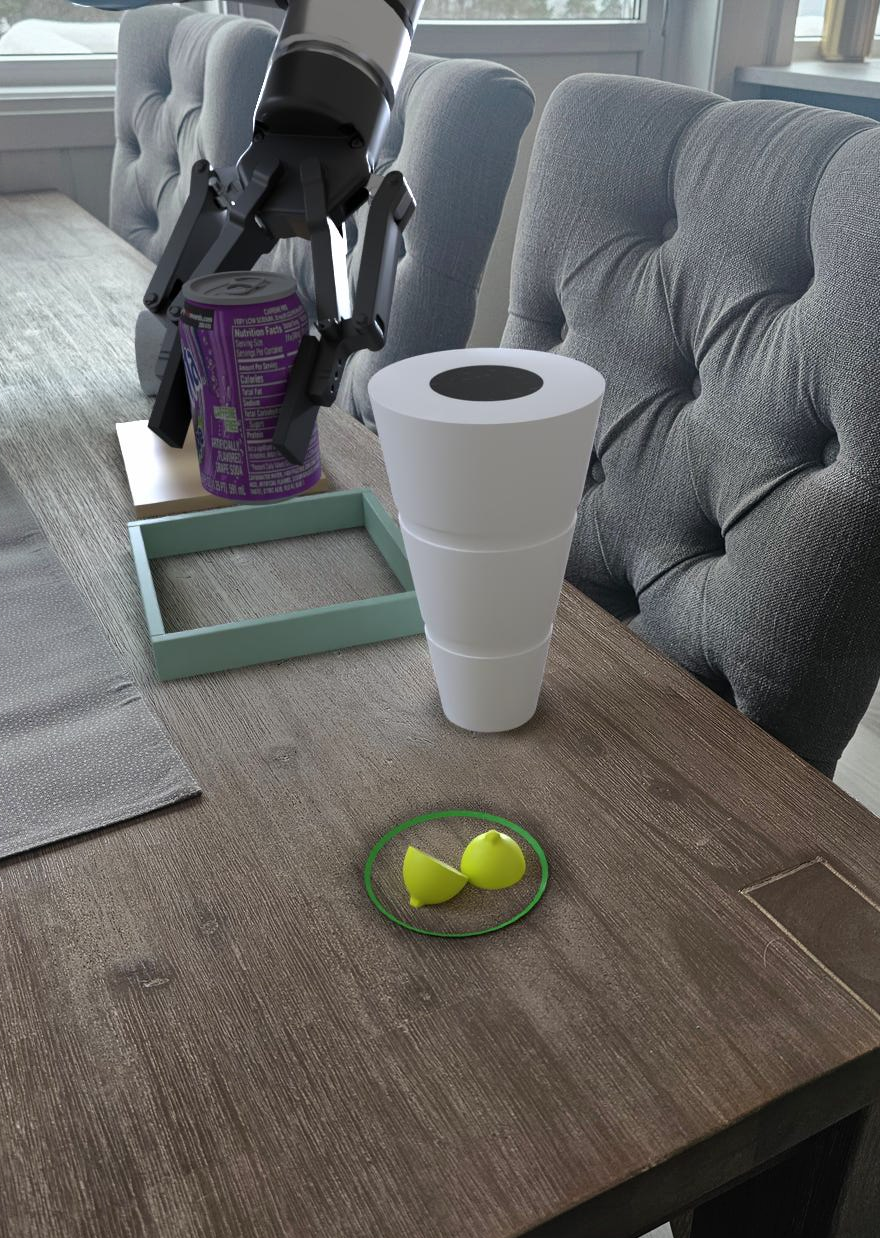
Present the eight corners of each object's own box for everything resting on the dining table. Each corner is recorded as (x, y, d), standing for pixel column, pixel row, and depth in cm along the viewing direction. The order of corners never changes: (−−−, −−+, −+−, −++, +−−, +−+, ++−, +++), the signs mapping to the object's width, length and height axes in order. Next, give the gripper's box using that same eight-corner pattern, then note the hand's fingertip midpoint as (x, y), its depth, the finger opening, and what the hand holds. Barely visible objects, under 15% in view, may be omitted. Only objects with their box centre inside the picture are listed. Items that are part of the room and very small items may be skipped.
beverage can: (230, 462, 71) (205, 265, 65) (337, 471, 70) (323, 271, 63) (183, 508, 65) (150, 296, 59) (299, 518, 64) (278, 303, 57)
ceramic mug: (232, 405, 102) (221, 319, 98) (141, 407, 102) (126, 321, 98) (247, 371, 111) (237, 291, 107) (163, 373, 111) (150, 293, 107)
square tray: (160, 689, 62) (151, 643, 61) (134, 562, 76) (126, 522, 74) (444, 635, 67) (443, 591, 65) (372, 525, 80) (369, 486, 79)
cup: (365, 684, 63) (339, 364, 53) (539, 645, 66) (544, 337, 56) (429, 794, 54) (412, 438, 45) (625, 744, 58) (649, 402, 48)
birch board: (328, 496, 85) (327, 478, 84) (138, 525, 81) (134, 505, 80) (282, 419, 99) (280, 403, 98) (118, 440, 95) (115, 423, 94)
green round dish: (465, 978, 44) (463, 926, 43) (326, 887, 49) (321, 838, 47) (584, 871, 50) (586, 822, 48) (449, 798, 54) (448, 751, 52)
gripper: (504, 141, 67) (410, 496, 63) (213, 128, 73) (109, 452, 69) (474, 46, 60) (366, 438, 56) (154, 39, 66) (35, 395, 62)
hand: (225, 445), depth 63 cm, fingers closed on beverage can, 7 cm apart
